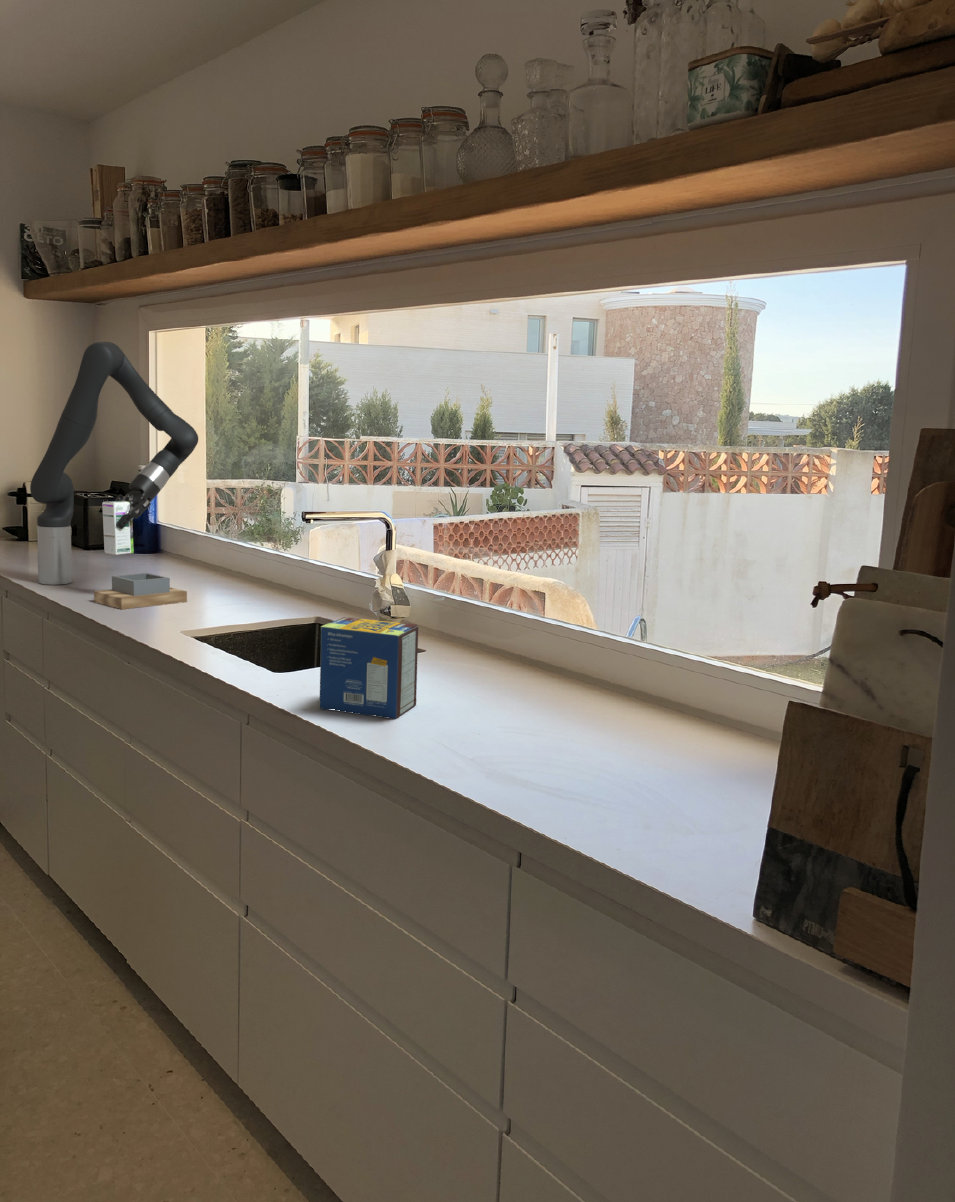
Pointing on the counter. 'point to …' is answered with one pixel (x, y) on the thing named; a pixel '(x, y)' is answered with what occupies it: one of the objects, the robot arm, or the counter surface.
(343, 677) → the protein box
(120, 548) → the syrup box
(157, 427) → the robot arm
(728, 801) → the counter surface
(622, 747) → the counter surface
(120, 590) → the grey square frame
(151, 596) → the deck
